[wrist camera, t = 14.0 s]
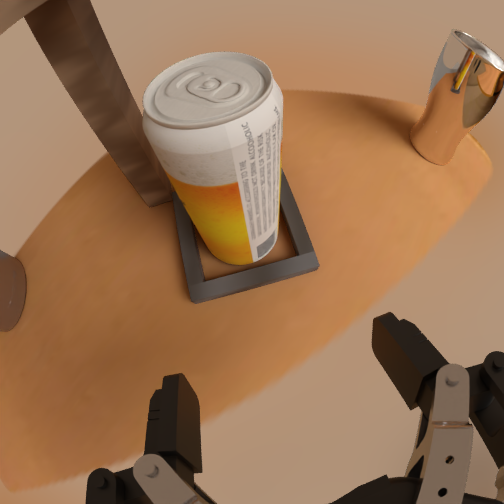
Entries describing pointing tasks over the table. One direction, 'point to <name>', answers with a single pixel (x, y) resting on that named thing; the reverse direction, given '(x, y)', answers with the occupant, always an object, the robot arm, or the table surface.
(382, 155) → the table surface
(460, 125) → the beer glass
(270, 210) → the beer can
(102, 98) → the overhang bracket
